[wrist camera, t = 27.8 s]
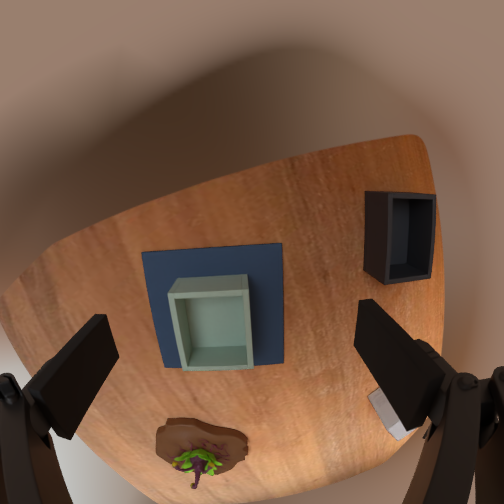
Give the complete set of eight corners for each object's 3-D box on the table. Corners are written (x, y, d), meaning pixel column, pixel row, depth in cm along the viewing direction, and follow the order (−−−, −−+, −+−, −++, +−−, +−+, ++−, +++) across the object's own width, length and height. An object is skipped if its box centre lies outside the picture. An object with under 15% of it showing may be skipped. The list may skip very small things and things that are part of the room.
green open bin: (177, 277, 38) (167, 293, 32) (247, 273, 38) (248, 289, 32) (189, 348, 41) (182, 371, 35) (252, 346, 41) (253, 368, 35)
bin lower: (364, 191, 37) (388, 192, 30) (409, 192, 37) (436, 194, 30) (363, 270, 40) (384, 285, 33) (406, 265, 40) (430, 278, 33)
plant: (148, 450, 48) (139, 485, 37) (166, 407, 44) (154, 450, 33) (226, 472, 51) (226, 507, 40) (260, 434, 47) (264, 476, 36)
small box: (366, 395, 46) (385, 430, 36) (388, 379, 45) (411, 411, 35) (379, 410, 48) (397, 442, 37) (399, 395, 47) (420, 425, 37)
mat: (142, 252, 37) (141, 252, 37) (281, 242, 38) (281, 243, 38) (165, 366, 42) (164, 367, 42) (283, 361, 43) (283, 363, 42)
